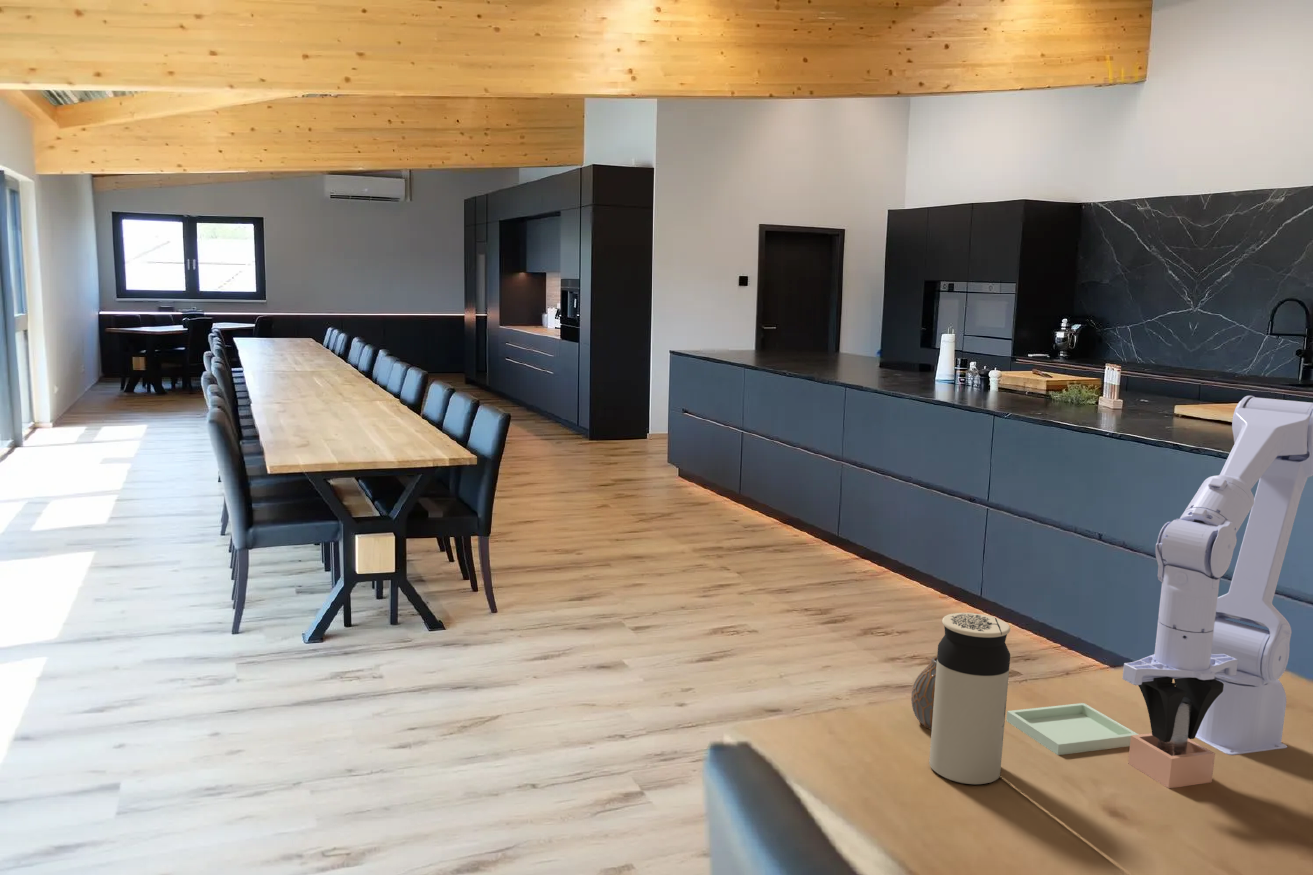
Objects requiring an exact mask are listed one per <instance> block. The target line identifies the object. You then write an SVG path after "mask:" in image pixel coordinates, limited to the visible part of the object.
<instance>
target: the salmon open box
mask: <svg viewBox="0 0 1313 875" xmlns="http://www.w3.org/2000/svg"><path fill="white" fill-rule="evenodd" d="M1138 734H1139V735H1131V740H1130V746H1129V749H1128V750H1129V751H1128V760H1127V764H1128V765H1129V766H1131V767H1133V768H1134V769H1136V770H1138V771H1139V772H1141V773H1143V774H1144V775H1145V776H1147V777H1149V778H1150V779H1152V780H1153V781H1155V782H1157V783H1159V784H1160V785H1162V786H1164V787H1166V789H1175V788H1182V787H1189V786H1190V787H1191V786H1194V785H1195V786H1196V785H1202V784H1209V783H1212V782H1213V776H1214V769H1215V768H1214V767H1215V766H1214V765H1215V759H1216V758H1215V757H1216V753H1215V752H1214V751H1212V750H1210V749H1208V748H1207V747H1205V746H1203V745H1201V744H1199V743H1197V742H1195V741H1194V740H1193V739H1189V738H1188V742H1187V750H1186V754H1184V755H1176V756H1171V755H1169V754H1167V753H1166V752H1164V751H1162V750H1160V749H1159V748H1157V746H1158V738H1156V737H1154V736H1153V735H1152V732H1150V733H1142V734H1141V733H1138Z"/></svg>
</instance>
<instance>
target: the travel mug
mask: <svg viewBox="0 0 1313 875" xmlns="http://www.w3.org/2000/svg"><path fill="white" fill-rule="evenodd" d="M941 623H942V625H943V627H944V636H943V637H942V639H941V640H940V641H939V643H938V644H937V654H936V657H937V666H936V679H935V693H934V706H933V719H932V729H931V736H930V746H929V747H930V749H929V759H928V760H929V761H928V764H929V766H930V768H931V769H932V770H933V771H934V772H935V773H937V775H940V776H941V777H943V778H945V779H947V780H949V781H952V782H955V783H959V784H963V785H972V786H973V785H975V786H977V785H983V784H984V785H985V784H988V783H989V784H990V783H992V782H995V781H997V780H998V779H999V778H1000V776H1001V771H1002V770H1001V768H1002V758H1003V757H1002V755H1003V746H1004V735H1005V724H1006V723H1005V721H1006V713H1007V710H1006V709H1007V698H1008V689H1009V688H1008V687H1009V678H1010V677H1009V675H1010V664H1011V653H1010V650H1009V648H1008V646H1007V644H1006V640H1007V636H1008V634H1009V633H1010V632H1011V626H1010V625H1009V623H1007V622H1006V621H1004V620H1002V619H1000V618H998V617H994V616H992V615H991V616H990V615H986V614H981V613H973V612H956V613H949V614H946V615H944V616H943V617H942V620H941Z"/></svg>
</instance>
